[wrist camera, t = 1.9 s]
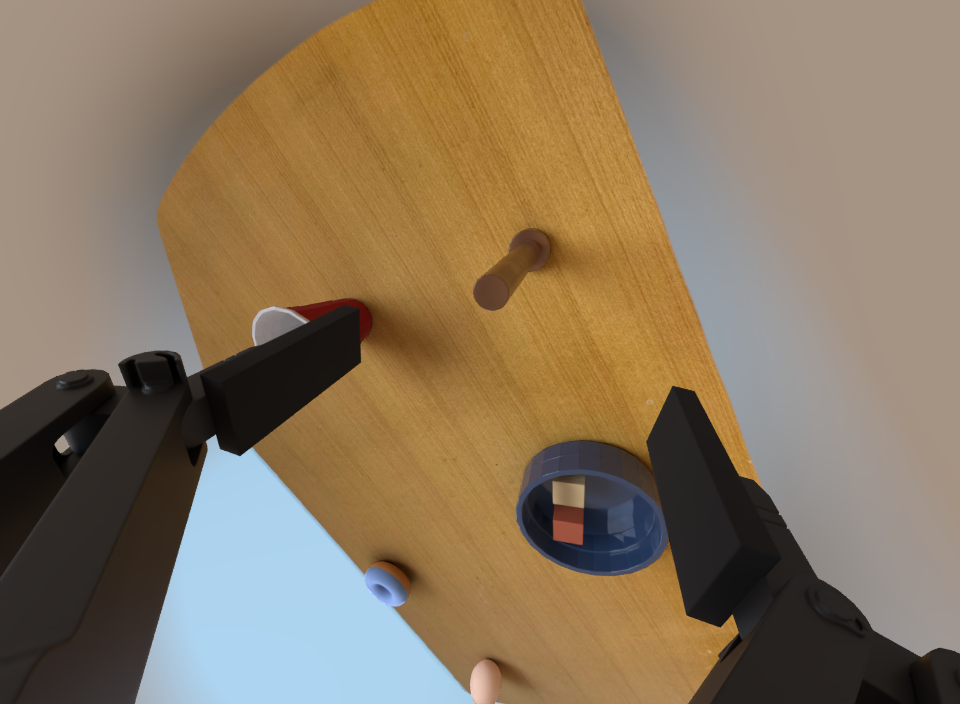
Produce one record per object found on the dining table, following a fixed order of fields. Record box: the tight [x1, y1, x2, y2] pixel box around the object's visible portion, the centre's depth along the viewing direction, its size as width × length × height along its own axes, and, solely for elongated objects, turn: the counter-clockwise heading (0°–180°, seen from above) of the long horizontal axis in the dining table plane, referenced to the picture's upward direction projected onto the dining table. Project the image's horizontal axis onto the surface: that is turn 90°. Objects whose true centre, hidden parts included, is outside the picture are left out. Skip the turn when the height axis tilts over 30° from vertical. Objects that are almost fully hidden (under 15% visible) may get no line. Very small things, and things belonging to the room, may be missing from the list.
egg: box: [470, 659, 502, 704], centre depth 74 cm, size 7×7×8 cm
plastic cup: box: [252, 298, 372, 346], centre depth 43 cm, size 11×11×12 cm
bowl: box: [516, 441, 669, 576], centre depth 47 cm, size 19×19×6 cm
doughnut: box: [365, 561, 411, 606], centre depth 71 cm, size 10×10×5 cm
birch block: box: [553, 474, 585, 508], centre depth 47 cm, size 4×4×4 cm
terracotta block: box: [553, 504, 584, 545], centre depth 50 cm, size 4×4×4 cm
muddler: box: [473, 228, 551, 311], centre depth 30 cm, size 4×4×18 cm
